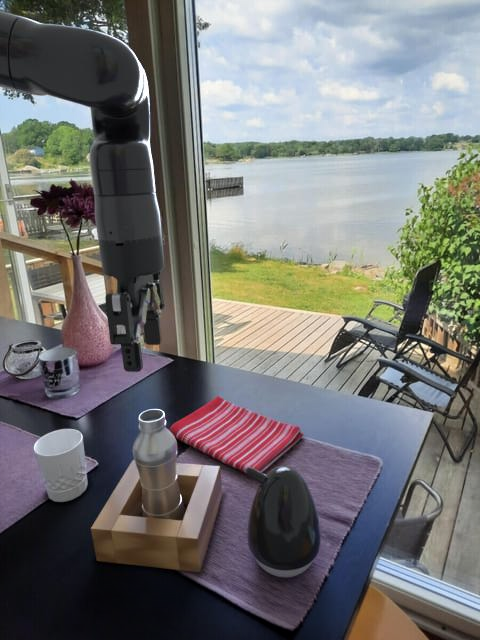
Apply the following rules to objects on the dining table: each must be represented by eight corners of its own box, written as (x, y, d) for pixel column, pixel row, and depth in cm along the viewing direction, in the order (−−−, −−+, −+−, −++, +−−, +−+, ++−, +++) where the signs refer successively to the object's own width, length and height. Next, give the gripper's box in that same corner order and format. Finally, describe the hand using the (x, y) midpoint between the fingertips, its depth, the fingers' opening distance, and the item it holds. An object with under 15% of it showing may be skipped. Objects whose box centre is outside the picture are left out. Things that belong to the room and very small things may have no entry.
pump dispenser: (261, 523, 69) (259, 441, 65) (326, 542, 66) (329, 456, 61) (235, 576, 61) (231, 485, 56) (309, 601, 57) (312, 506, 52)
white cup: (70, 509, 74) (60, 459, 71) (34, 499, 77) (22, 450, 73) (100, 479, 81) (92, 432, 78) (65, 471, 84) (56, 425, 80)
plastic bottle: (193, 528, 69) (183, 417, 63) (153, 548, 66) (138, 433, 59) (174, 504, 74) (163, 399, 68) (136, 522, 71) (121, 413, 64)
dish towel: (219, 403, 105) (218, 393, 105) (305, 436, 91) (305, 425, 90) (165, 436, 93) (164, 426, 92) (255, 481, 79) (254, 469, 78)
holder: (96, 561, 64) (90, 528, 62) (136, 487, 78) (132, 459, 76) (200, 572, 61) (197, 539, 59) (222, 495, 76) (220, 465, 74)
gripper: (121, 226, 60) (134, 336, 65) (73, 243, 47) (95, 380, 52) (174, 224, 59) (184, 337, 65) (141, 242, 46) (156, 381, 51)
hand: (144, 356), depth 58 cm, fingers open, 8 cm apart
